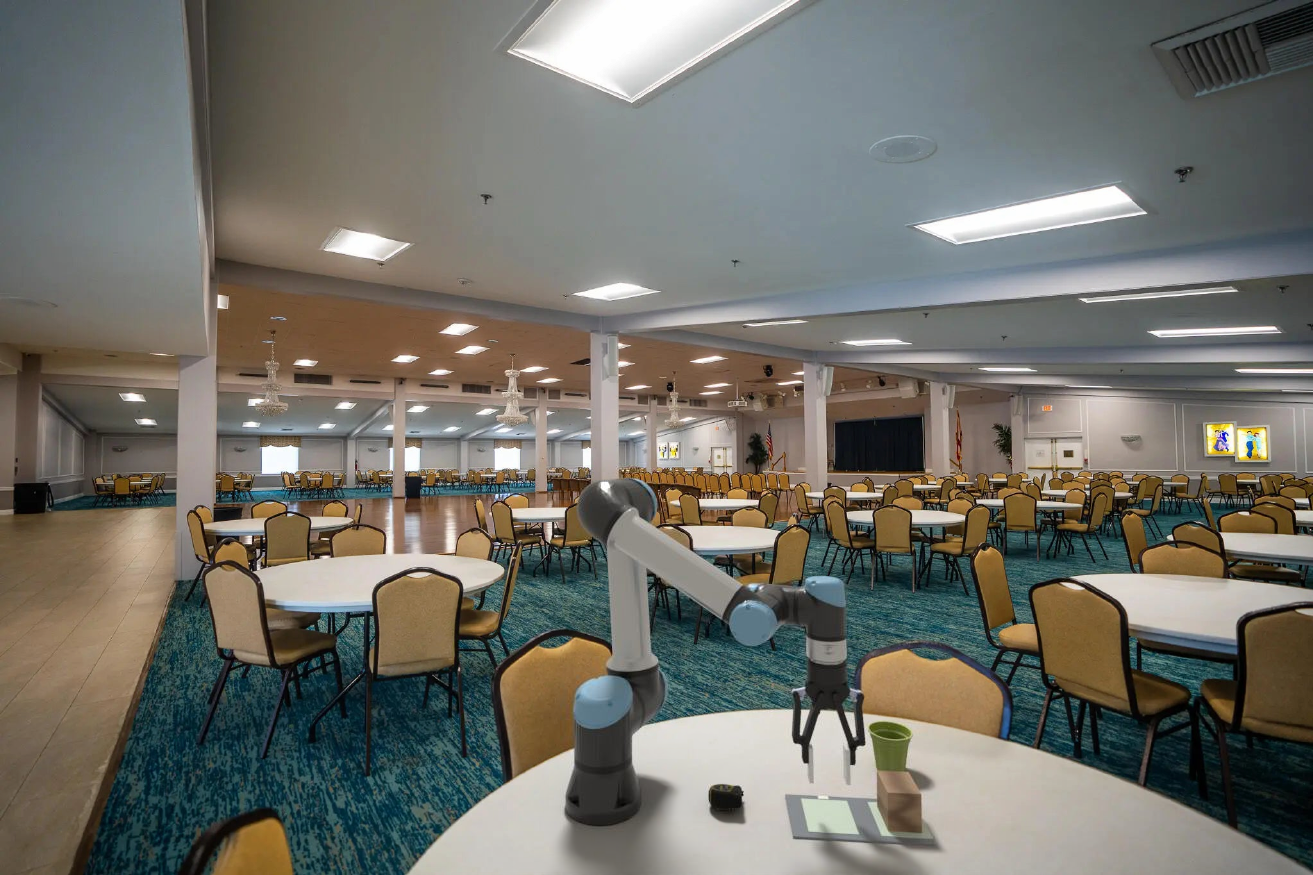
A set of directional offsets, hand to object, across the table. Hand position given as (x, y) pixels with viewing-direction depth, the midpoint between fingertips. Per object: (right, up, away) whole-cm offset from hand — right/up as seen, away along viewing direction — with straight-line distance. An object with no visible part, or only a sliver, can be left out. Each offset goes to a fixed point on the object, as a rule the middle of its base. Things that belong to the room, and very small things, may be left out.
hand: (828, 780), depth 119 cm
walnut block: (+13, -7, -1) cm, 15 cm away
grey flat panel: (+5, -8, -1) cm, 9 cm away
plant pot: (+19, -8, +19) cm, 28 cm away
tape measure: (-17, -7, +2) cm, 18 cm away
